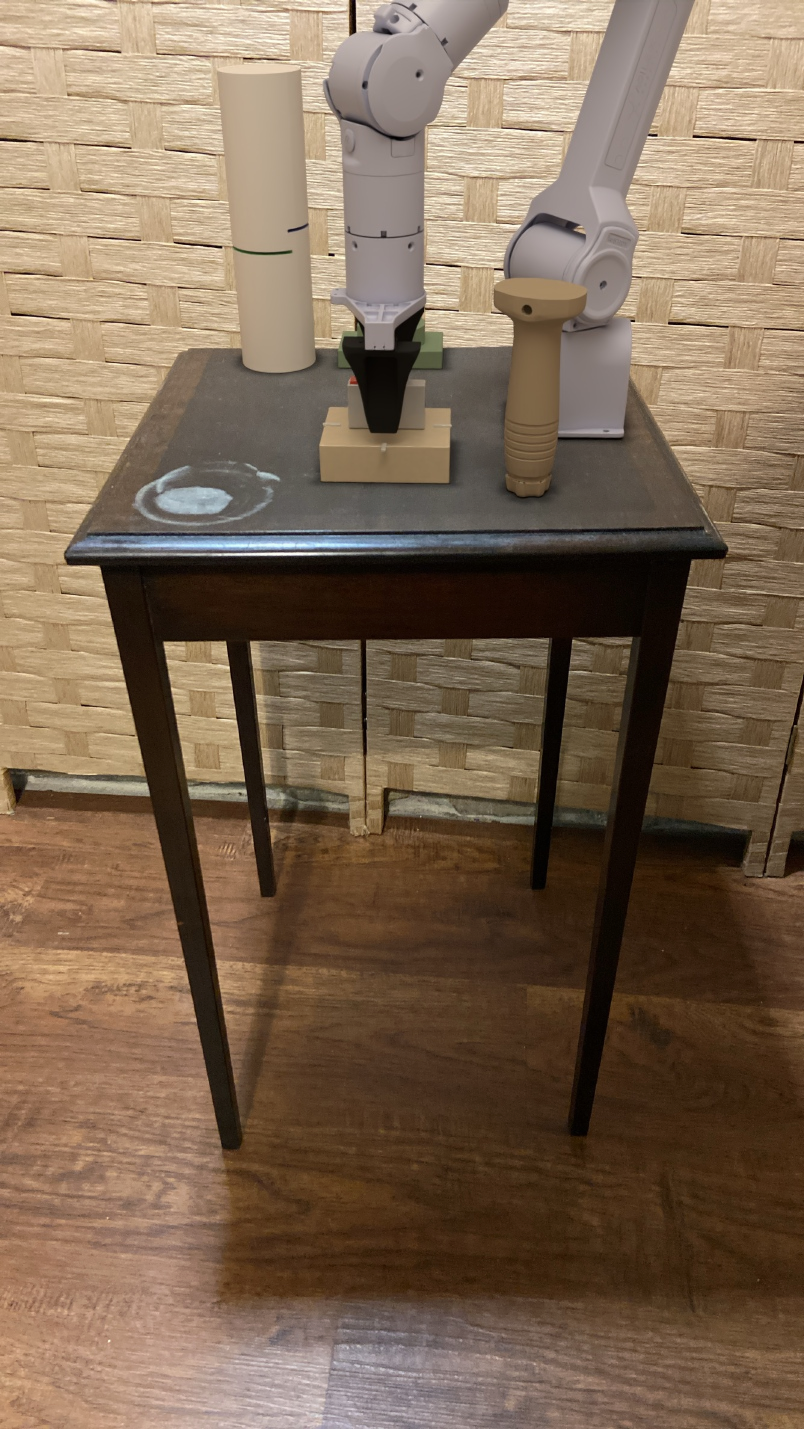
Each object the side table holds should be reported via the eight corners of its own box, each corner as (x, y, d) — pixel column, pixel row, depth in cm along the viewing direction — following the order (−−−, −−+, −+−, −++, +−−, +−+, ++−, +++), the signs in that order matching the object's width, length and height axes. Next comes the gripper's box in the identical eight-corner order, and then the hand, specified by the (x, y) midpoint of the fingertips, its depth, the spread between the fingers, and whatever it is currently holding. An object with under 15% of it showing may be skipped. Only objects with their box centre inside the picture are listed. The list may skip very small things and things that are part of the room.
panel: (451, 437, 95) (452, 401, 93) (450, 489, 86) (451, 450, 85) (330, 436, 95) (329, 399, 93) (318, 487, 87) (315, 449, 85)
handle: (556, 510, 83) (573, 303, 74) (476, 494, 86) (483, 291, 77) (577, 485, 87) (596, 284, 78) (500, 470, 89) (509, 274, 80)
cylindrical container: (330, 359, 111) (318, 67, 96) (275, 378, 106) (254, 76, 92) (282, 343, 115) (263, 61, 100) (227, 360, 110) (199, 68, 96)
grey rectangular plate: (425, 422, 89) (425, 376, 87) (424, 429, 88) (425, 382, 86) (350, 421, 90) (348, 375, 87) (348, 428, 88) (346, 381, 86)
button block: (442, 347, 113) (443, 312, 111) (441, 369, 108) (442, 332, 106) (343, 346, 114) (342, 311, 112) (338, 368, 108) (336, 332, 106)
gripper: (337, 205, 86) (343, 379, 94) (317, 254, 75) (326, 448, 83) (429, 206, 86) (427, 380, 94) (424, 255, 74) (422, 450, 82)
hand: (386, 412), depth 88 cm, fingers open, 7 cm apart
